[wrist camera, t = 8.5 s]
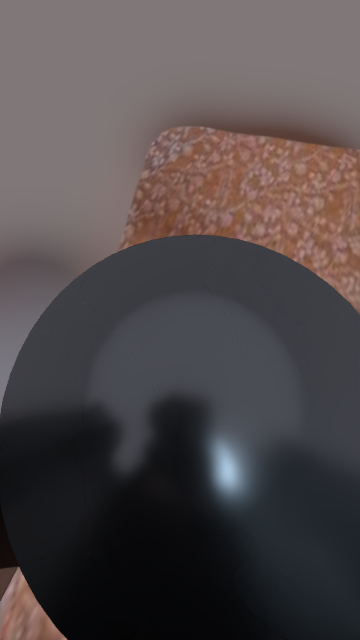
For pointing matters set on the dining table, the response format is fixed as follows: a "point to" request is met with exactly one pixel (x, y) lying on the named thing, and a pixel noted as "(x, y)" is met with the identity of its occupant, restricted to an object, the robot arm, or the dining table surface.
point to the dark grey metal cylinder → (189, 449)
